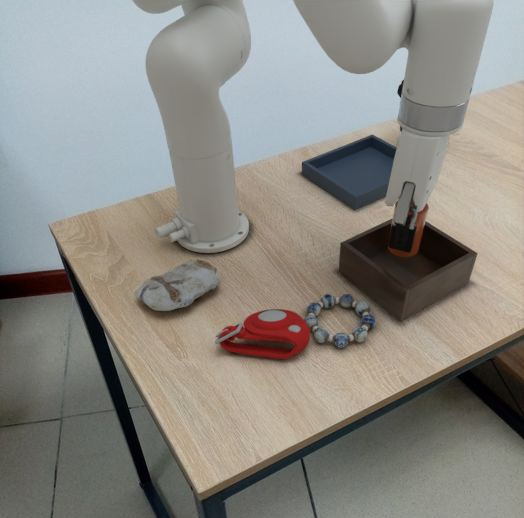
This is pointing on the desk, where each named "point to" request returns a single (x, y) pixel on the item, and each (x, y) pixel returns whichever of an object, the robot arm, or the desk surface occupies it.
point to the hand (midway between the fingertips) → (405, 237)
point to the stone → (178, 286)
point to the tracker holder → (267, 333)
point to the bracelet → (340, 338)
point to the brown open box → (406, 268)
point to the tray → (354, 170)
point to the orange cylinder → (418, 235)
